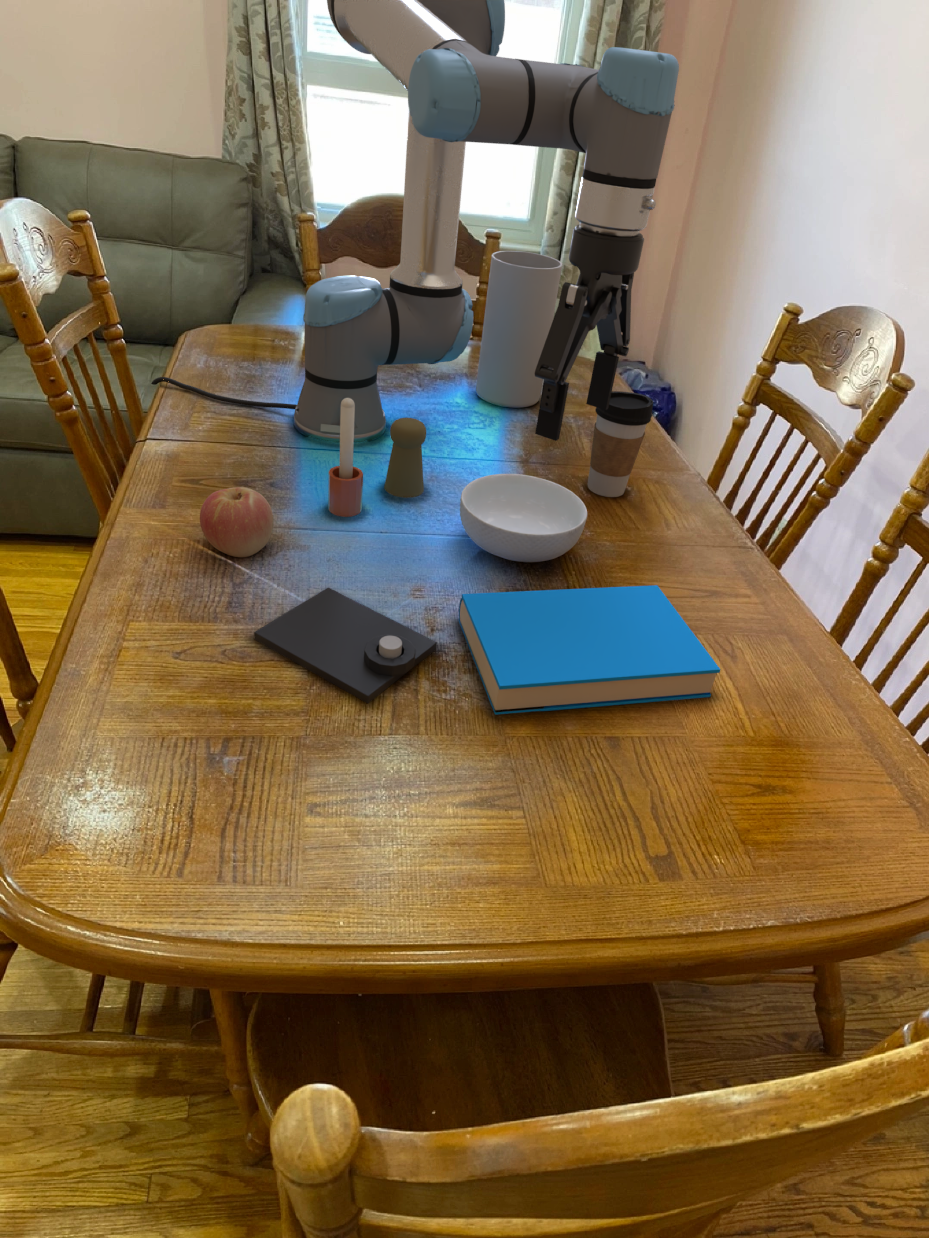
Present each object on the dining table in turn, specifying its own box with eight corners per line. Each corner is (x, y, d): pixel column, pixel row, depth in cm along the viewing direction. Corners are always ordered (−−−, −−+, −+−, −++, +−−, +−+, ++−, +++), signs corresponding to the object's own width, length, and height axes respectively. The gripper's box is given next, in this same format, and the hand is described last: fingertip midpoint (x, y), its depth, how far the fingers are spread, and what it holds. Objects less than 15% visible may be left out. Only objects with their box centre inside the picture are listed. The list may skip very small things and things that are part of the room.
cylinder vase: (550, 397, 161) (574, 262, 146) (519, 414, 152) (541, 272, 137) (496, 380, 166) (513, 248, 151) (463, 395, 157) (478, 256, 142)
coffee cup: (631, 505, 127) (655, 412, 118) (577, 495, 127) (596, 402, 119) (633, 482, 133) (655, 393, 125) (581, 472, 134) (600, 383, 125)
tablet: (254, 640, 90) (253, 621, 88) (328, 594, 98) (328, 577, 97) (372, 707, 83) (373, 688, 82) (441, 652, 92) (443, 634, 90)
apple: (239, 575, 100) (236, 517, 95) (187, 550, 103) (181, 492, 98) (288, 548, 106) (287, 492, 101) (237, 524, 109) (234, 469, 105)
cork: (431, 489, 124) (437, 420, 117) (412, 504, 119) (418, 433, 113) (395, 478, 125) (400, 409, 119) (376, 493, 121) (379, 422, 114)
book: (722, 669, 88) (501, 685, 81) (710, 699, 91) (495, 717, 84) (655, 581, 101) (459, 588, 95) (646, 609, 104) (455, 618, 97)
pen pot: (321, 511, 114) (321, 472, 111) (343, 500, 118) (344, 462, 114) (346, 523, 113) (347, 483, 109) (368, 511, 116) (370, 473, 112)
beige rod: (335, 508, 115) (337, 398, 105) (344, 504, 116) (347, 394, 107) (345, 513, 114) (348, 402, 105) (354, 508, 115) (357, 398, 106)
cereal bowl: (492, 590, 103) (499, 542, 99) (434, 527, 114) (439, 481, 110) (602, 568, 110) (613, 522, 106) (537, 510, 122) (545, 466, 118)
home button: (374, 652, 87) (374, 642, 86) (388, 642, 89) (388, 632, 88) (392, 662, 86) (392, 652, 85) (405, 651, 88) (406, 641, 87)
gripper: (591, 249, 76) (553, 461, 88) (684, 224, 94) (641, 403, 106) (521, 232, 78) (493, 440, 91) (624, 211, 96) (589, 387, 109)
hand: (573, 421), depth 98 cm, fingers open, 13 cm apart
